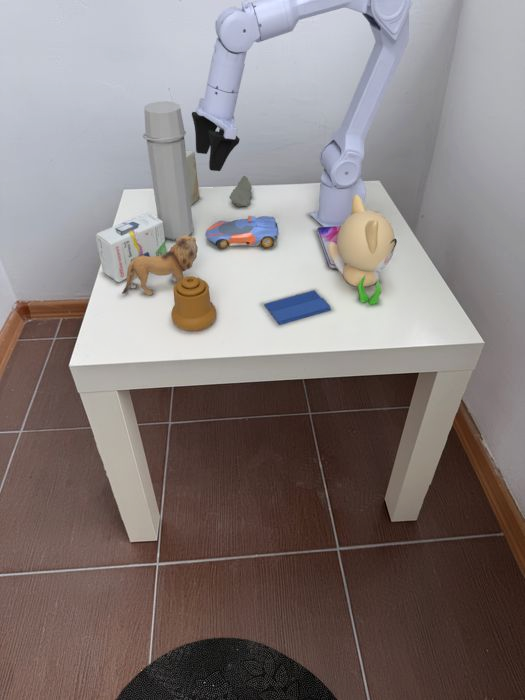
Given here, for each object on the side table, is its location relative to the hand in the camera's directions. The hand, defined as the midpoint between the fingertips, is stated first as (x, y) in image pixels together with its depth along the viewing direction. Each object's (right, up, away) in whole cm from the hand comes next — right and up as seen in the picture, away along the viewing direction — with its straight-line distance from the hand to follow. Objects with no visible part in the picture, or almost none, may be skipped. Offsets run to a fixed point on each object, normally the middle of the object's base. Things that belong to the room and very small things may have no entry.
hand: (208, 161), depth 99 cm
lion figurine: (-7, -25, -5) cm, 26 cm away
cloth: (+17, -29, -10) cm, 35 cm away
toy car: (+6, -14, +7) cm, 17 cm away
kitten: (+29, -24, -4) cm, 38 cm away
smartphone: (+26, -16, +5) cm, 31 cm away
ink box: (-9, -15, 0) cm, 17 cm away
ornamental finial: (-1, -32, -12) cm, 34 cm away
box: (-7, -2, +20) cm, 21 cm away
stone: (+4, +1, +21) cm, 21 cm away
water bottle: (-8, -12, +9) cm, 17 cm away
